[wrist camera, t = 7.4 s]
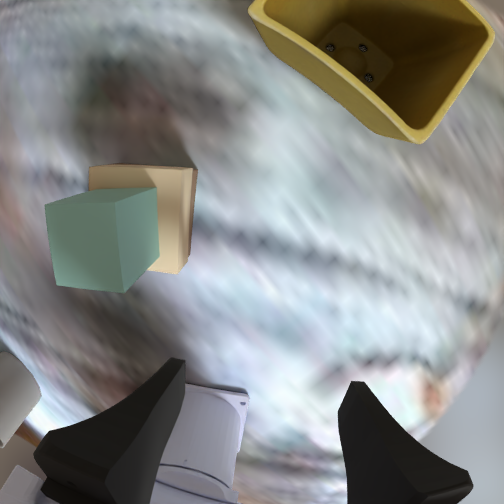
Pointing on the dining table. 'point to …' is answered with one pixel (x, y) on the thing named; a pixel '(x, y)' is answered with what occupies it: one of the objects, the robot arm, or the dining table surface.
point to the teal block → (103, 237)
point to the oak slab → (168, 205)
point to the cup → (15, 395)
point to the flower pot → (380, 55)
